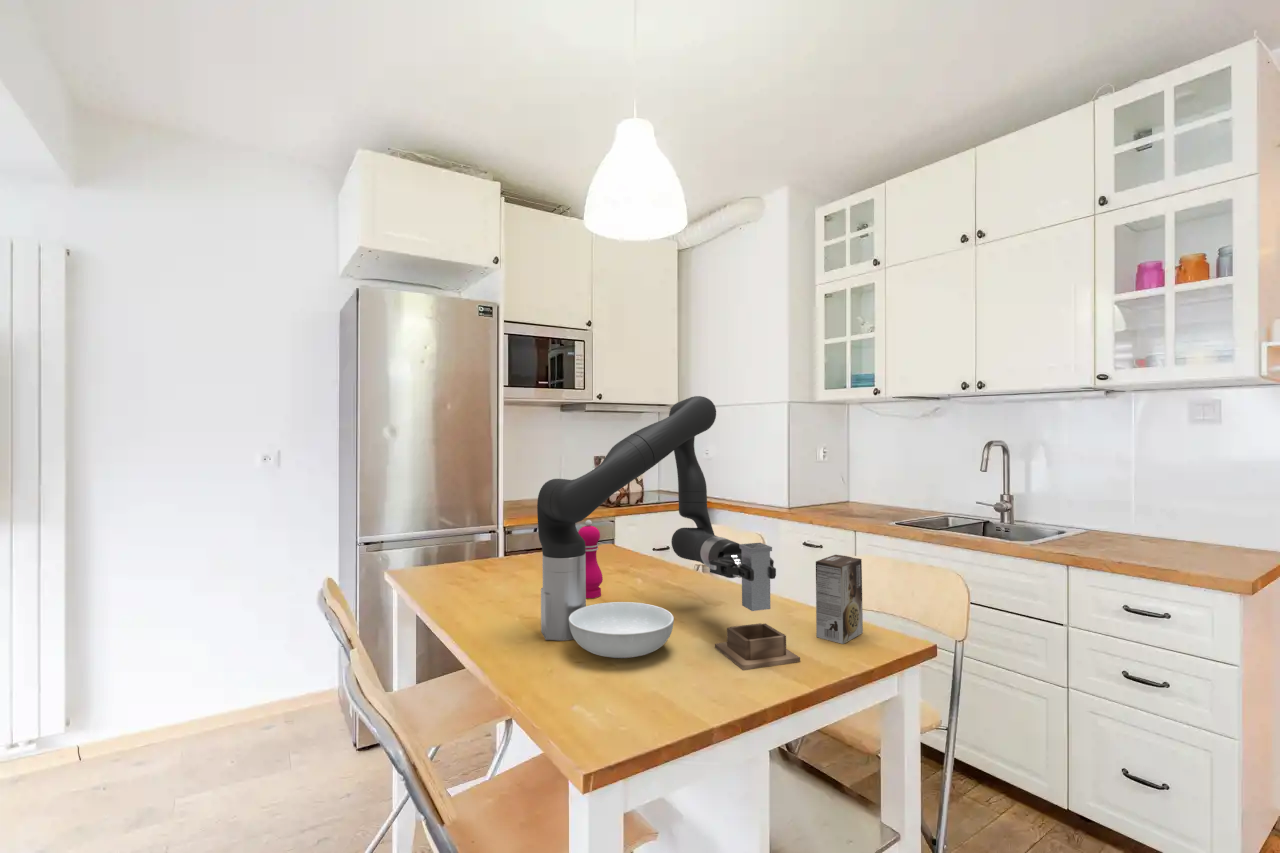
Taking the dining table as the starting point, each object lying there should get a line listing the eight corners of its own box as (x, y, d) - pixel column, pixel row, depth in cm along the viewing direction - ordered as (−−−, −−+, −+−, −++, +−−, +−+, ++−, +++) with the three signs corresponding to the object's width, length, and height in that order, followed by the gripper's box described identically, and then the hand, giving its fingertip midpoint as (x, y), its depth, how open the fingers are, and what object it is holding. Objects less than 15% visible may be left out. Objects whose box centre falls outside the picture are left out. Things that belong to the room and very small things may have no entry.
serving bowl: (642, 679, 108) (641, 640, 108) (547, 658, 118) (547, 622, 118) (691, 642, 126) (691, 609, 126) (605, 627, 136) (605, 596, 136)
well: (742, 669, 111) (742, 645, 111) (714, 647, 123) (714, 625, 123) (800, 661, 115) (800, 638, 115) (767, 640, 126) (767, 619, 126)
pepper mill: (601, 599, 158) (601, 522, 158) (573, 599, 158) (573, 522, 158) (603, 591, 165) (603, 517, 165) (577, 591, 166) (576, 518, 166)
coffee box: (835, 627, 135) (834, 553, 135) (863, 633, 130) (863, 558, 130) (814, 637, 129) (814, 560, 129) (843, 644, 124) (843, 565, 124)
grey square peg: (751, 611, 116) (750, 548, 116) (739, 605, 121) (739, 544, 120) (772, 609, 118) (772, 546, 117) (760, 602, 122) (760, 542, 122)
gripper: (693, 541, 130) (729, 557, 114) (752, 536, 135) (795, 552, 118) (693, 576, 130) (729, 598, 114) (752, 570, 135) (795, 590, 119)
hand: (762, 574), depth 116 cm, fingers closed on grey square peg, 4 cm apart
